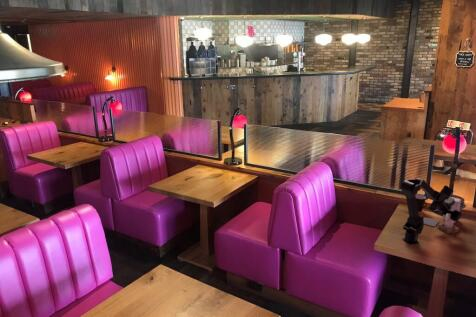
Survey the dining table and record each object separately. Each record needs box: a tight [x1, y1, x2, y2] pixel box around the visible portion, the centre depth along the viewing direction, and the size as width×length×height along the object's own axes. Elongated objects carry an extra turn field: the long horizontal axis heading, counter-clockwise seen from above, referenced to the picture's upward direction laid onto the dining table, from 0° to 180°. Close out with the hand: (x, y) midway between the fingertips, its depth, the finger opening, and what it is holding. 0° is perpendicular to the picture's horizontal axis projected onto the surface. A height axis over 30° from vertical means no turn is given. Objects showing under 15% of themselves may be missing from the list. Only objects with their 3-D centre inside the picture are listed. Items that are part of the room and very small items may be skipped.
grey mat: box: [423, 216, 440, 228], centre depth 255 cm, size 11×9×1 cm
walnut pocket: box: [437, 222, 460, 234], centre depth 245 cm, size 8×8×2 cm
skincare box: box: [442, 196, 462, 224], centre depth 257 cm, size 8×6×15 cm
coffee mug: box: [416, 193, 427, 213], centre depth 271 cm, size 12×9×10 cm
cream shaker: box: [444, 214, 455, 229], centre depth 244 cm, size 4×4×11 cm
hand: (449, 218), depth 243 cm, fingers open, 9 cm apart
